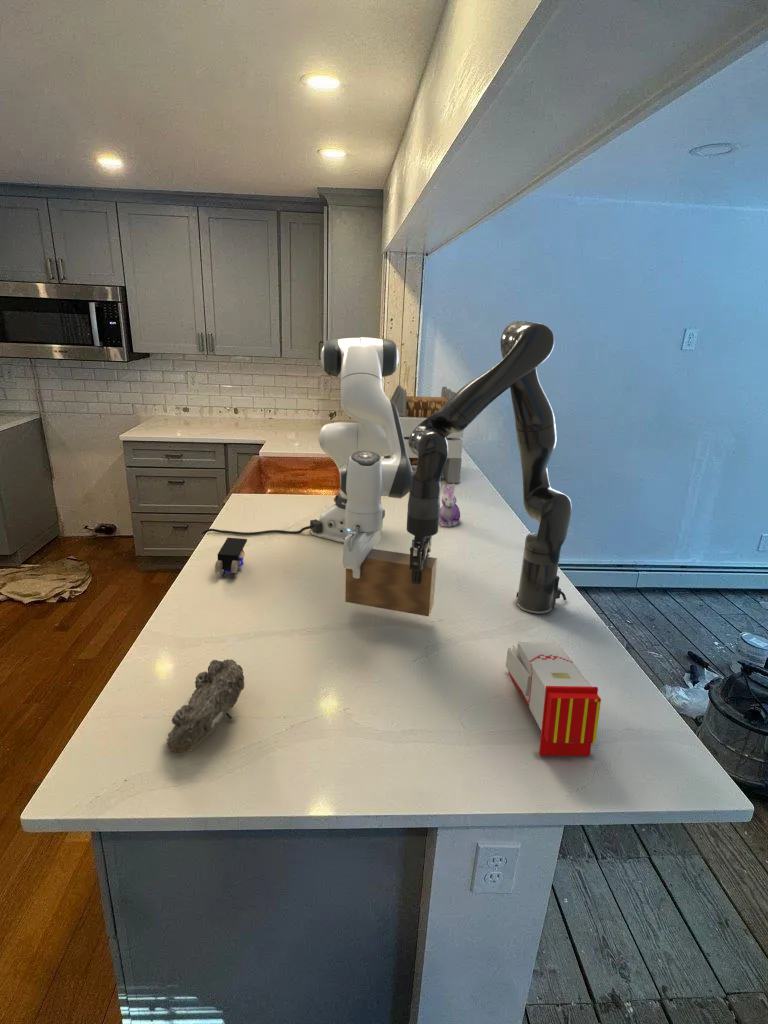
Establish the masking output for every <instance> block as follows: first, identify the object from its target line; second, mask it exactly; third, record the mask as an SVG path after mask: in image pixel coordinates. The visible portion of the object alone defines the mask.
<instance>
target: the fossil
mask: <svg viewBox="0 0 768 1024" xmlns="http://www.w3.org/2000/svg"><path fill="white" fill-rule="evenodd" d="M243 670H244V669H243V667H242V665H240V664H237V662H236V661H235V660H234V659H232V658H231V659H227V658H226V659H224V660H223V661H222V660H217V659H212V660H211V661H210V663H209V665H208V666H207V671H201V672H199V673H198V674H197V675H196V676H195V680H194V684H195V685H194V687H195V689H194V690H193V693H192V694H191V697H190V698H189V700H188V704H184V705H182V706H181V707H180V709H177V710H176V711H175V713H174V715H173V716H172V718H171V723H172V724H173V727H172V730H171V731H170V732H168V734H167V738H166V741H167V742H166V745H167V749H168V750H169V751H173V752H174V753H176V754H178V753H182V752H188V751H189V752H192V751H193V750H195V748H196V747H197V746H199V744H200V743H201V742H203V741H204V740H205V739H206V738H207V737H208V736H209V735H210V734H211V733H212V732H214V730H215V729H217V727H218V726H219V724H220V722H221V721H222V720H223V719H224V718H225V716H226V717H227V719H229V720H233V717H232V715H230V714H229V710H230V709H231V708H234V706H235V704H236V703H237V702H238V699H239V697H240V695H241V693H242V691H243V690H245V689H244V688H245V675H244V671H243Z"/></svg>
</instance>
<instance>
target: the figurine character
mask: <svg viewBox="0 0 768 1024" xmlns="http://www.w3.org/2000/svg"><path fill="white" fill-rule="evenodd" d="M247 542H248V538H240V537H226V539H225V541H224V543H223V544H222V546H221V547H220V549H219V551H218V552H217V560H216V562H215V564H214V572H215V573H221V577H222V578H224V577H225V576H226V574H227V573H230V574H231V573H232V574H231V578H234V577H235V575H236V573H237V572H239V571H240V567H242V566H243V565H244V564H245V562H244V558H245V551H244V547H245V546H246V544H247Z"/></svg>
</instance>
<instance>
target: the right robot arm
mask: <svg viewBox="0 0 768 1024" xmlns="http://www.w3.org/2000/svg"><path fill="white" fill-rule="evenodd" d="M499 343H500V344H499V345H500V353H501V357H502V359H501V360H500V361H499V362H498V363H497V364H495V365H494V366H493V367H491V368H489V369H488V370H486V371H485V372H484V373H482V374H481V375H479V376H476V378H474V379H472V380H471V381H469V382H467V383H466V384H465V385H463V386H462V387H461V388H460V389H458V391H457V392H455V393H456V394H455V395H454V396H453V397H452V398H451V399H450V400H449V401H448V402H447V403H446V404H445V405H444V406H443V407H442V408H441V409H440V410H439V411H437V412H436V413H434V414H432V415H431V416H430V417H428V418H427V419H425V420H424V421H423V422H421V423H420V424H419V425H418V426H417V427H416V428H415V429H414V430H413V431H412V433H411V435H410V437H409V448H410V449H411V451H412V452H413V453H414V454H416V455H417V456H418V464H417V466H416V468H415V469H413V470H412V471H413V472H412V474H411V479H410V492H409V493H408V494H409V495H408V501H407V512H406V515H407V516H406V531H407V533H408V534H410V535H411V536H413V538H414V539H412V540H411V546H410V548H409V554H410V567H409V568H410V570H412V583H414V584H420V583H421V575H422V569H423V567H422V566H423V561H425V560H426V557H430V553H431V551H432V549H431V546H432V537H433V536H436V535H437V534H438V532H439V526H440V523H439V514H440V508H441V487H442V485H441V484H442V476H443V474H442V473H443V471H444V467H445V464H446V460H447V456H448V443H447V440H446V437H447V436H449V435H450V434H452V433H458V432H461V431H463V430H464V431H465V429H467V427H468V426H469V425H470V424H472V423H473V421H475V419H476V418H478V417H479V415H481V413H482V412H483V411H484V410H485V409H486V408H487V407H488V406H489V405H490V404H492V403H493V402H494V401H495V400H496V399H497V398H498V397H500V396H501V395H502V394H503V393H504V392H506V391H507V390H508V389H510V399H511V404H512V409H513V415H514V427H515V433H516V439H517V440H516V441H517V445H518V451H519V457H520V459H519V460H520V466H521V473H522V474H521V475H522V493H523V494H522V500H523V508H524V511H525V513H526V514H527V516H528V517H529V518H531V519H532V520H534V521H535V522H538V523H539V525H538V530H537V531H534V532H530V533H528V534H527V535H526V537H525V540H524V548H523V555H522V561H521V562H522V563H521V568H520V569H521V570H520V577H519V583H518V591H517V592H516V594H515V595H516V596H515V599H516V601H515V602H516V606H517V607H518V608H519V609H520V610H521V611H523V612H527V613H530V614H535V615H544V614H548V613H550V612H551V611H552V610H553V609H555V608H556V603H557V599H558V600H559V599H561V597H562V599H563V601H567V596H566V594H565V593H564V592H563V591H562V588H560V587H559V581H560V576H559V575H558V569H559V564H560V558H561V557H560V556H561V552H562V546H563V545H564V543H565V541H566V538H567V534H568V531H569V526H570V522H571V517H572V511H573V505H572V501H571V498H570V497H569V496H568V495H566V494H565V493H563V492H561V491H559V490H557V489H554V488H552V487H551V484H550V479H549V471H548V467H549V462H550V459H551V457H552V455H553V453H554V451H555V449H556V445H557V428H556V427H557V426H556V417H555V414H554V410H553V407H552V405H551V404H550V400H549V399H548V397H547V395H546V393H545V391H544V390H543V389H544V388H543V387H542V385H541V383H540V382H541V381H540V380H539V376H538V371H537V367H539V366H540V365H541V364H543V363H544V362H545V361H546V360H547V359H548V358H549V357H550V355H551V354H552V352H553V350H554V347H555V335H554V333H553V331H552V329H551V328H550V327H549V326H548V325H546V324H544V323H541V322H535V321H526V320H514V321H512V322H510V323H509V324H507V325H506V326H505V328H504V329H503V331H502V333H501V335H500V342H499ZM421 556H422V557H421ZM415 562H417V563H418V565H416V564H415Z"/></svg>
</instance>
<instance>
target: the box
mask: <svg viewBox="0 0 768 1024" xmlns="http://www.w3.org/2000/svg"><path fill="white" fill-rule="evenodd" d="M421 557H422V556H421ZM415 564H416V565H418V563H417V562H415ZM437 564H438V558H437V557H432V556H429V557H426V560H425V561H423V566H422V567H423V569H422V575H421V583H420V584H414V583H412V570H410V568H409V567H410V553H405V552H398V551H391V550H384V549H377V548H373V549H372V550H371V552H370V553H369V554H368V555H367V557H366V558H365V560H364V561H363V562H362V564H361V566H360V569H361V570H362V572H361V576H360V578H354V577H353V571H352V569H347V568H345V597H344V602H345V603H349V604H353V605H360V606H366V607H371V608H378V609H384V610H389V611H395V612H400V613H407V614H412V615H418V616H423V617H430V614H431V612H432V610H433V607H434V603H435V591H436V580H437V579H436V577H437Z"/></svg>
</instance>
